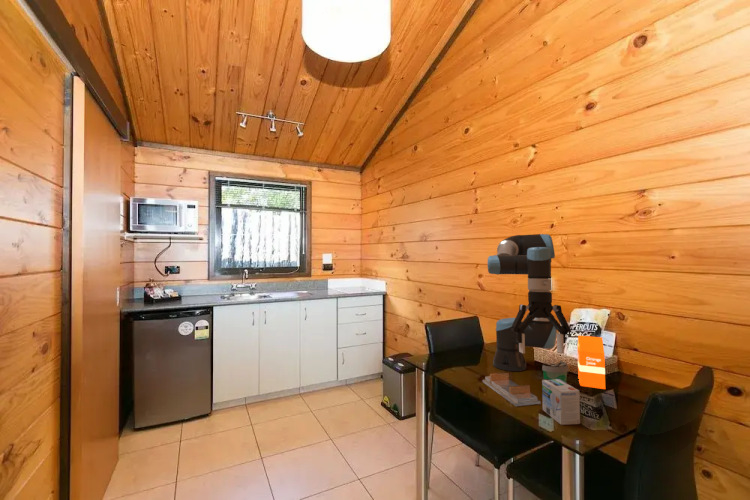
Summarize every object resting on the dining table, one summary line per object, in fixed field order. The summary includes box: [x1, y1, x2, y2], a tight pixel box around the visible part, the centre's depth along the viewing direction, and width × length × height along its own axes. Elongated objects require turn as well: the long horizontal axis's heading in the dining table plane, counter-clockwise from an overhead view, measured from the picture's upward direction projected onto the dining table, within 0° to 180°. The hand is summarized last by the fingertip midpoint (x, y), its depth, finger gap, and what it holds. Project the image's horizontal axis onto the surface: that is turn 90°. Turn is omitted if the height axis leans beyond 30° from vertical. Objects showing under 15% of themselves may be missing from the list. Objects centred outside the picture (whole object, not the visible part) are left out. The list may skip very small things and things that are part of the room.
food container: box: [541, 360, 570, 383], centre depth 134 cm, size 12×6×10 cm, turn 117°
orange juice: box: [577, 335, 606, 390], centre depth 140 cm, size 8×9×20 cm
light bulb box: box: [541, 379, 581, 426], centre depth 112 cm, size 11×7×11 cm, turn 5°
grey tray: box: [482, 371, 542, 407], centre depth 132 cm, size 10×24×5 cm, turn 11°
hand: (541, 352), depth 115 cm, fingers open, 13 cm apart
